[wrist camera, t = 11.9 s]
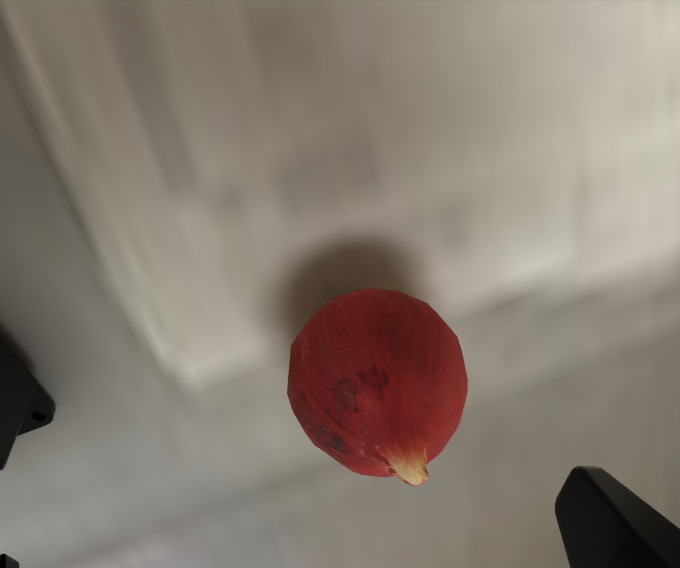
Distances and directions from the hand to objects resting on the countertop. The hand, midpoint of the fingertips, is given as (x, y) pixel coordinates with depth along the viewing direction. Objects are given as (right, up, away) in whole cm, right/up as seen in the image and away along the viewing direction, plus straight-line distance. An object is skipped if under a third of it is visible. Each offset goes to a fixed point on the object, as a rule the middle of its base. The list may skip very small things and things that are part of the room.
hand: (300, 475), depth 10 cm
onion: (+1, +2, +15) cm, 15 cm away
